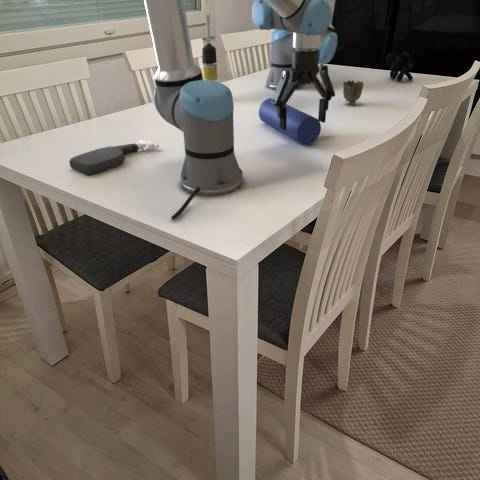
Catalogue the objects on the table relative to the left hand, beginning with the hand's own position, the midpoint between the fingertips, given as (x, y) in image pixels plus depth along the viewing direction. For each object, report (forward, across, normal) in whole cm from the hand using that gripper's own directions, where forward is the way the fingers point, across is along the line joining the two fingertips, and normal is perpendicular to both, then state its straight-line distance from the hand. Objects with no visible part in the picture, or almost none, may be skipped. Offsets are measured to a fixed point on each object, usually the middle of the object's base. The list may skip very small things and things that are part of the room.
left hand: (302, 125), depth 133 cm
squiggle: (+6, -81, -47) cm, 94 cm away
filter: (+5, +6, -59) cm, 59 cm away
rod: (+5, 0, -8) cm, 9 cm away
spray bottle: (+4, +54, -11) cm, 55 cm away
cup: (+5, -37, -25) cm, 45 cm away
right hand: (-25, -10, -30) cm, 40 cm away
